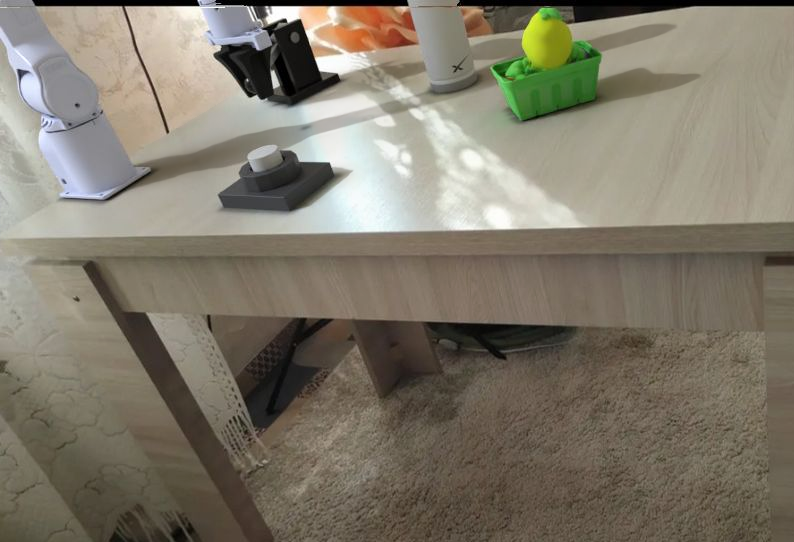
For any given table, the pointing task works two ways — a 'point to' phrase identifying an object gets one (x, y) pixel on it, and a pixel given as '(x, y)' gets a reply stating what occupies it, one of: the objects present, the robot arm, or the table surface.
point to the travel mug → (443, 44)
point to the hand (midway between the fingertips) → (261, 96)
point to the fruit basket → (548, 68)
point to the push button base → (276, 184)
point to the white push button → (265, 158)
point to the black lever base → (296, 64)
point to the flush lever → (274, 54)
